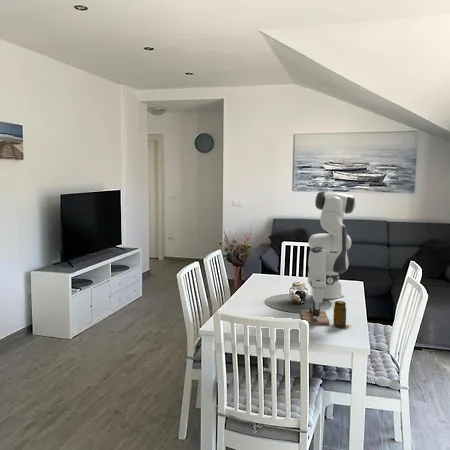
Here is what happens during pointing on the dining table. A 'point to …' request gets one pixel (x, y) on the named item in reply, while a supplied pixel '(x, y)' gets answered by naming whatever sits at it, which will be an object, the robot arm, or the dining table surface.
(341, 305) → the condiment
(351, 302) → the dining table surface
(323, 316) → the board
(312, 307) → the lever
